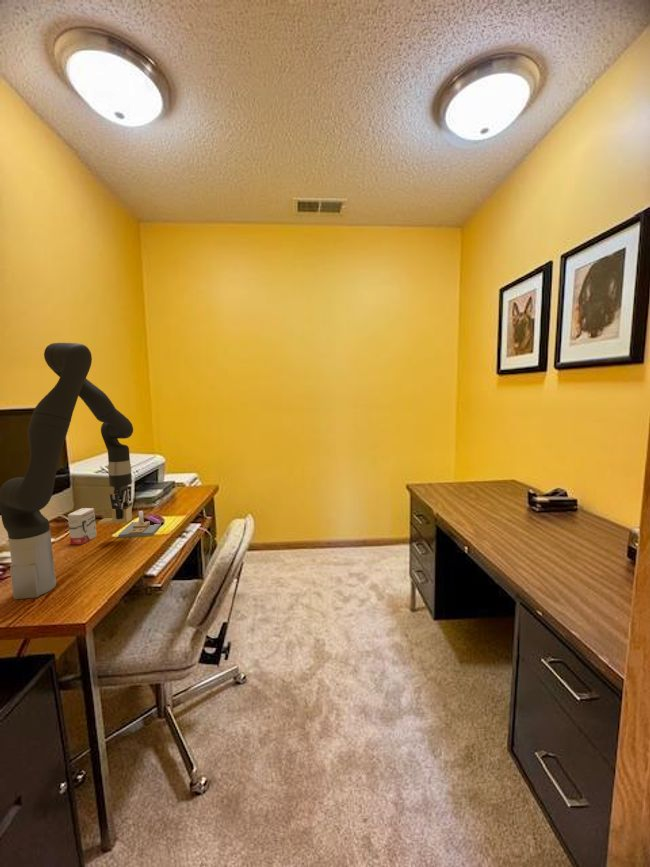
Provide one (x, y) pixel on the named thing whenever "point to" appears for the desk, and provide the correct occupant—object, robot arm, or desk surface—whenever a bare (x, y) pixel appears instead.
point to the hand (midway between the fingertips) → (122, 516)
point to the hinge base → (140, 528)
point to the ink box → (82, 526)
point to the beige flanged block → (126, 517)
